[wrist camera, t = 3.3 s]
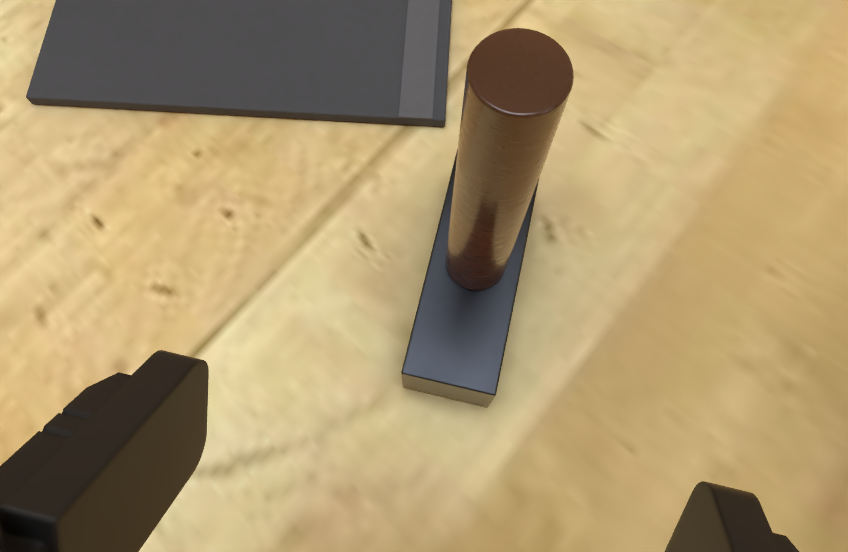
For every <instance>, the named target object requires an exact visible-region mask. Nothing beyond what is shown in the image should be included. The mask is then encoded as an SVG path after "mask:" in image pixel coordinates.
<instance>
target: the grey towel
mask: <svg viewBox="0 0 848 552" xmlns="http://www.w3.org/2000/svg"><path fill="white" fill-rule="evenodd" d="M451 5H452V0H56V2H55V5H54V8H53V12H52V15H51V18H50V21H49V25H48V28H47V31H46V34H45V37H44V41H43V44H42V47H41V50H40V53H39V57H38V60H37V63H36V66H35V69H34V73H33V76H32V79H31V82H30V86H29V89H28V92H27V95H26V98H27V99H28V100H29V101H30V102H31V103H32V104H43V105H61V106H79V107H97V108H115V109H133V110H151V111H169V112H187V113H205V114H223V115H241V116H259V117H277V118H294V119H312V120H330V121H348V122H366V123H384V124H402V125H420V126H438V127H444V126H445V113H446V95H447V77H448V59H449V41H450V23H451Z"/></svg>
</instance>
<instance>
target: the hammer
mask: <svg viewBox="0 0 848 552" xmlns="http://www.w3.org/2000/svg"><path fill="white" fill-rule="evenodd" d="M573 78H574V76H573V68H572V64H571V61H570V59H569V57H568V55H567V53H566V52H565V50H564V49H563V48H562V47H561V46H560V45H559V44H558V43H557V42H556V41H555V40H553V39H552V38H550V37H549V36H547V35H545V34H543V33H540V32H537V31H534V30H530V29H523V28H513V29H506V30H502V31H498V32H496V33H493V34H491V35H489V36H488V37H486V38H485V39H483V40H482V41H481V42H480V43H479V44H478V45H477V46H476V47H475V49H474V50H473V52H472V53H471V55H470V58H469V60H468V65H467V72H466V81H465V90H464V99H463V108H462V117H461V126H460V134H459V143H458V149H457V153H456V157H455V161H454V165H453V169H452V173H451V177H450V181H449V185H448V189H447V193H446V197H445V201H444V205H443V209H442V213H441V217H440V221H439V225H438V229H437V233H436V237H435V241H434V245H433V249H432V253H431V257H430V261H429V265H428V269H427V273H426V277H425V281H424V285H423V288H422V292H421V296H420V300H419V304H418V308H417V312H416V316H415V320H414V324H413V328H412V332H411V336H410V340H409V344H408V348H407V352H406V356H405V360H404V364H403V368H402V381H403V387H404V388H407V389H412V390H416V391H420V392H424V393H428V394H433V395H437V396H441V397H445V398H449V399H453V400H458V401H462V402H466V403H470V404H474V405H479V406H483V407H488V405H489V404H490V402H491V401H492V399H493V398H494V396H495V395H496V391H497V386H498V381H499V376H500V371H501V366H502V361H503V356H504V351H505V346H506V341H507V336H508V331H509V326H510V321H511V316H512V311H513V306H514V301H515V296H516V291H517V286H518V281H519V276H520V271H521V266H522V261H523V256H524V251H525V246H526V241H527V236H528V231H529V226H530V221H531V216H532V211H533V206H534V201H535V196H536V191H537V186H538V181H539V176H540V174H541V171H542V168H543V165H544V163H545V160H546V157H547V154H548V152H549V149H550V146H551V143H552V141H553V138H554V135H555V132H556V130H557V127H558V124H559V122H560V119H561V116H562V113H563V111H564V108H565V105H566V102H567V100H568V97H569V94H570V91H571V89H572V85H573Z"/></svg>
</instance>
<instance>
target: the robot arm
mask: <svg viewBox="0 0 848 552" xmlns="http://www.w3.org/2000/svg"><path fill="white" fill-rule="evenodd" d="M207 405H208V365H207V363H206V361H204V360H200V359H196V358H192V357H188V356H184V355H179V354H175V353H171V352H167V351H162V350H160V351H157V352H155V353H154V354H153V355H152V356H151V357H150V358H149V359H148V360H147V361H146V362H145V363H144V364H143V365H142V366H141V367H140V368H139V369H138V370H137V371H136V372H134V373H133V374H132V375H127V374H123V373H117V374H115V375H112V376H110V377H108V378H106V379H104V380H102V381H100V382H98V383H96V384H93V385H91V386H89V387H87V388H86V389H85V390H84V391H83V392H81V393H80V394H79V395H78V396H77V397H76V398H75V399H74V400H73V401H71V402H70V403H69V404H68V405H67V406H66V407H65V408H64V409H63V412H62V414H60V413H58V414H57V415H56V416H55V417H54V418H53V419H52V420H51V421H49V422H48V423H47V424H46V425H45V426H44V429H43V431H42V432H40V431H38V432H37V433H36V434H35V435H34V436H33V437H32V438H31V439H30V440H29V441H27V442H26V443H25V444H24V445H23V446H22V447H21V448H20V449H19V450H18V451H16V452H15V453H14V454H13V455H12V456H11V457H10V458H9V459H8V460H7V461H5V462H4V463H3V464H2V465H1V466H0V552H138V551H139V550H140V549H141V547H142V546H143V544H144V543H145V541H146V540H147V539H148V537H149V536H150V534H151V533H152V531H153V530H154V528H155V527H156V526H157V524H158V523H159V521H160V520H161V518H162V517H163V515H164V514H165V513H166V511H167V510H168V508H169V507H170V505H171V504H172V503H173V501H174V500H175V498H176V497H177V495H178V494H179V492H180V491H181V490H182V488H183V487H184V485H185V484H186V482H187V481H188V480H189V478H190V477H191V475H192V474H193V472H194V471H195V469H196V467H197V465H198V463H199V461H200V458H201V456H202V453H203V449H204V446H205V441H206V434H207ZM665 552H799V551H798V550H797V549H796V547H795V546H794V545H793V544H792V543H791V542H790V540H789V539H788V538H787V537H786V536H783V535H779V534H775V533H772V531H771V528H770V526H769V523H768V521H767V519H766V516H765V514H764V512H763V509H762V507H761V505H760V502H759V500H758V498H757V497H756V496H755V495H754V494H753V493H750V492H746V491H742V490H738V489H733V488H729V487H725V486H721V485H717V484H712V483H708V482H704V481H703V482H700V483H698V484H697V485H696V487H695V488H694V490H693V492H692V494H691V496H690V498H689V500H688V502H687V505H686V507H685V509H684V511H683V513H682V515H681V517H680V520H679V522H678V524H677V526H676V528H675V530H674V533H673V535H672V537H671V539H670V541H669V543H668V545H667V548H666V550H665Z"/></svg>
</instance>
